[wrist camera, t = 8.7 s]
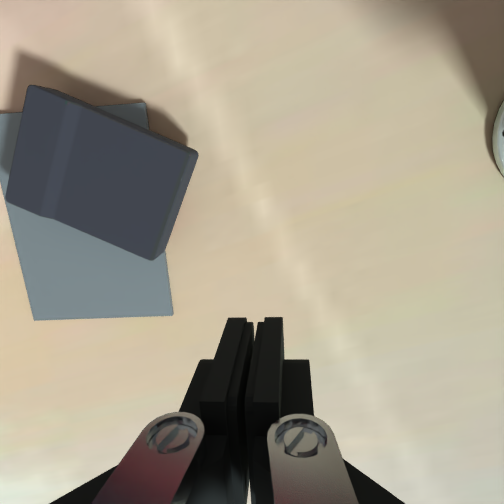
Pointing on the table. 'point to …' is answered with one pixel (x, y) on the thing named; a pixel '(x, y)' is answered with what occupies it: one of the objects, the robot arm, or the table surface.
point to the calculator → (98, 172)
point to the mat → (81, 255)
